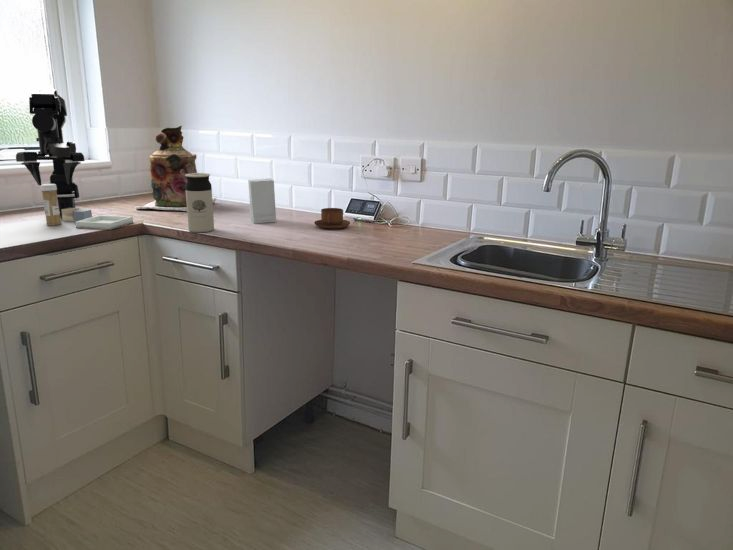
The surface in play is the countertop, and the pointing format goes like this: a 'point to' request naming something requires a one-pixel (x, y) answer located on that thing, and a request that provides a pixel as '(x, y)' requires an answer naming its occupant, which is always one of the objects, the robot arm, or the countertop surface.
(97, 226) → the sage tray
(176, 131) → the cookie jar
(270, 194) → the skincare box
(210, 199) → the travel mug
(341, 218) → the cup and saucer
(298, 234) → the countertop surface
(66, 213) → the birch block
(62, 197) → the robot arm
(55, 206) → the sprinkles bottle
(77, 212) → the slate block
